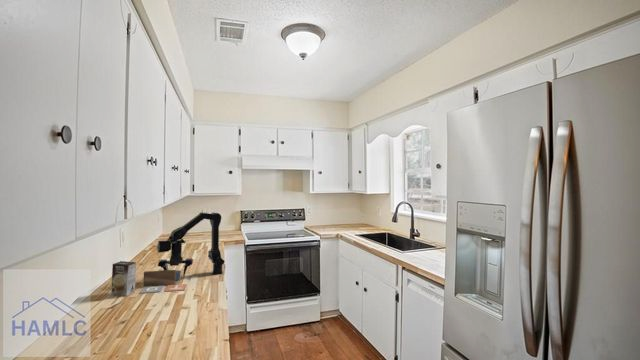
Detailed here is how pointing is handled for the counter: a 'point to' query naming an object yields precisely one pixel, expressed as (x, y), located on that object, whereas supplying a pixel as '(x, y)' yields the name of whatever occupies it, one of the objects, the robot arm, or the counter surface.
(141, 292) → the grey pad
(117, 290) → the coffee box
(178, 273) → the letter cube
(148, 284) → the walnut screen
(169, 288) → the terracotta pad
